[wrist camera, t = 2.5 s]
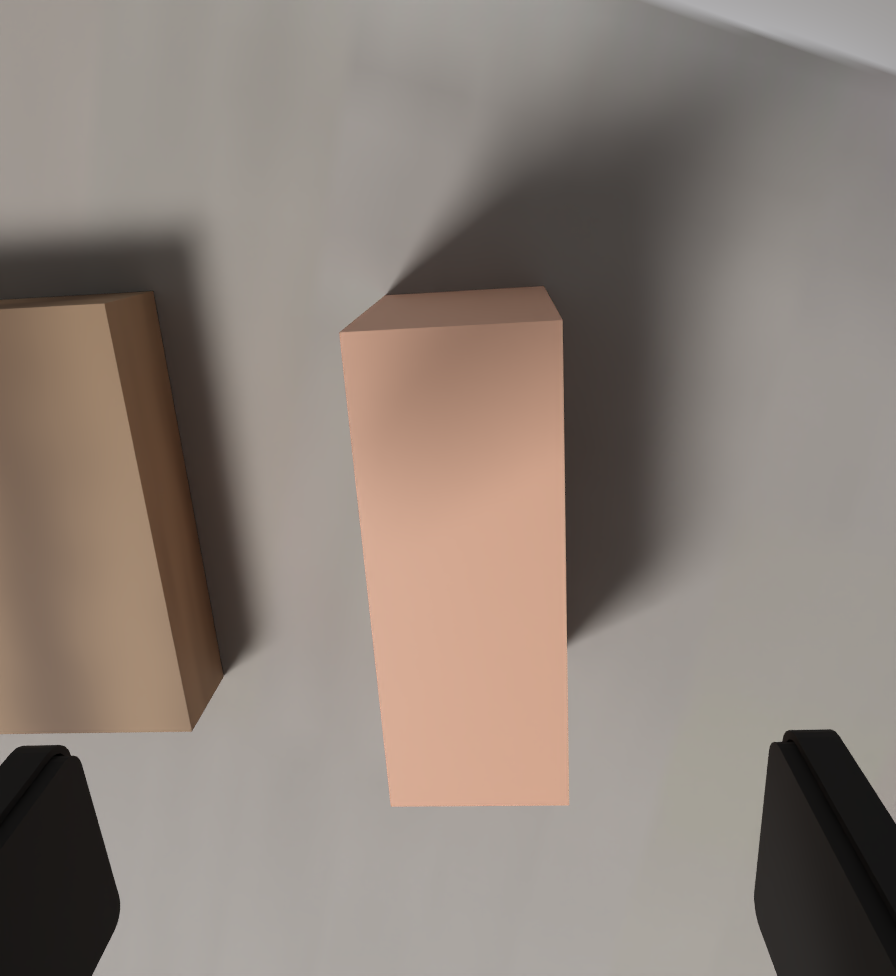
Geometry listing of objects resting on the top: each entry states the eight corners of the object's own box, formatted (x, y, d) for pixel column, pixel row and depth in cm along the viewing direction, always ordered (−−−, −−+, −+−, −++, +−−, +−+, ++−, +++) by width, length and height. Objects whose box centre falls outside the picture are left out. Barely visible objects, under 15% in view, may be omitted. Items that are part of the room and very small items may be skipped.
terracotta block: (543, 285, 22) (562, 320, 16) (551, 654, 26) (569, 805, 20) (385, 294, 22) (339, 332, 16) (417, 657, 27) (391, 806, 20)
